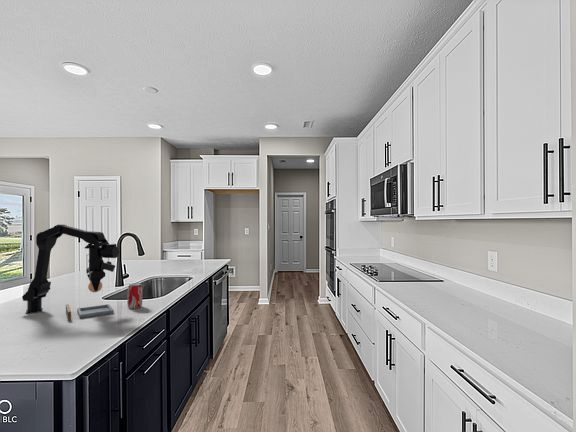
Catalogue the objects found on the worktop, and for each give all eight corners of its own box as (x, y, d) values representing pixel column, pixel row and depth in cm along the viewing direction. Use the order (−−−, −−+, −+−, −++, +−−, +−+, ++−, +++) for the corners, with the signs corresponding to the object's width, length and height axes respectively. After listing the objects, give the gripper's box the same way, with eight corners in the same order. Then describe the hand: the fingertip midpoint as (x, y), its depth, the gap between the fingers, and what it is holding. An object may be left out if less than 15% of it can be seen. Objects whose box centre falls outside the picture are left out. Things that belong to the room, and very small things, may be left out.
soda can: (136, 309, 171) (136, 285, 171) (124, 308, 172) (124, 285, 173) (145, 306, 178) (145, 283, 178) (133, 305, 179) (133, 282, 179)
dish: (77, 311, 166) (77, 308, 166) (109, 307, 174) (109, 304, 174) (79, 318, 155) (79, 314, 155) (113, 313, 163) (113, 310, 163)
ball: (87, 291, 165) (87, 279, 165) (101, 290, 169) (101, 278, 169) (88, 294, 160) (88, 281, 161) (103, 292, 164) (103, 280, 164)
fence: (65, 312, 164) (65, 304, 164) (68, 312, 165) (68, 304, 165) (67, 320, 151) (67, 312, 151) (71, 320, 152) (71, 311, 152)
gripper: (117, 258, 162) (117, 291, 162) (110, 255, 177) (110, 284, 177) (90, 260, 155) (90, 294, 155) (86, 256, 171) (85, 287, 170)
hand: (95, 289), depth 165 cm, fingers closed on ball, 6 cm apart
